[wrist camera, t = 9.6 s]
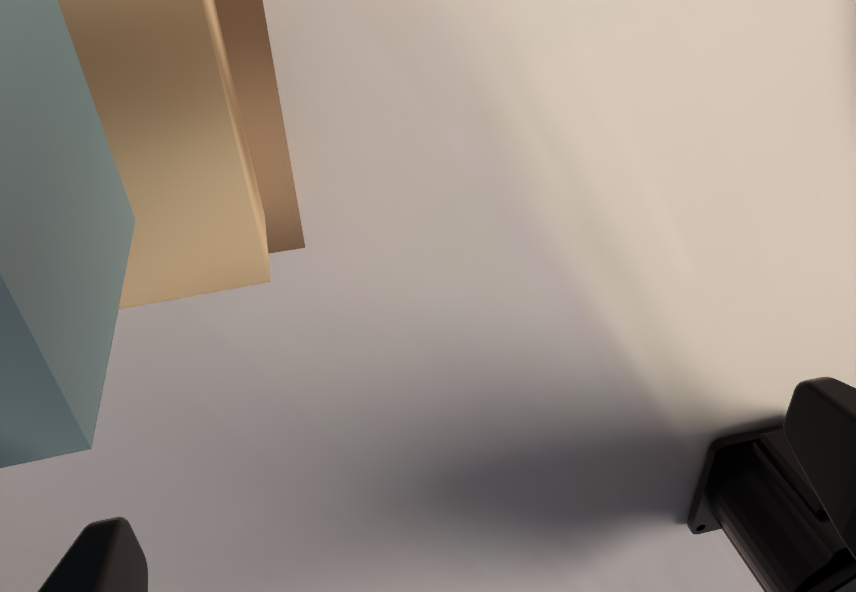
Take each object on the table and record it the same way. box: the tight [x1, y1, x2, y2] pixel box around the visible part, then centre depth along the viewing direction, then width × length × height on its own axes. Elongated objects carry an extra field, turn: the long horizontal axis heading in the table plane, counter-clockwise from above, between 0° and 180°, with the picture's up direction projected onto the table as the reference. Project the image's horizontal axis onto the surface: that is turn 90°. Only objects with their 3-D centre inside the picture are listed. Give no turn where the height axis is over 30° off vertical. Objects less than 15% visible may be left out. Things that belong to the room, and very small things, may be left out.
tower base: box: [214, 0, 305, 253], centre depth 15 cm, size 11×11×3 cm
